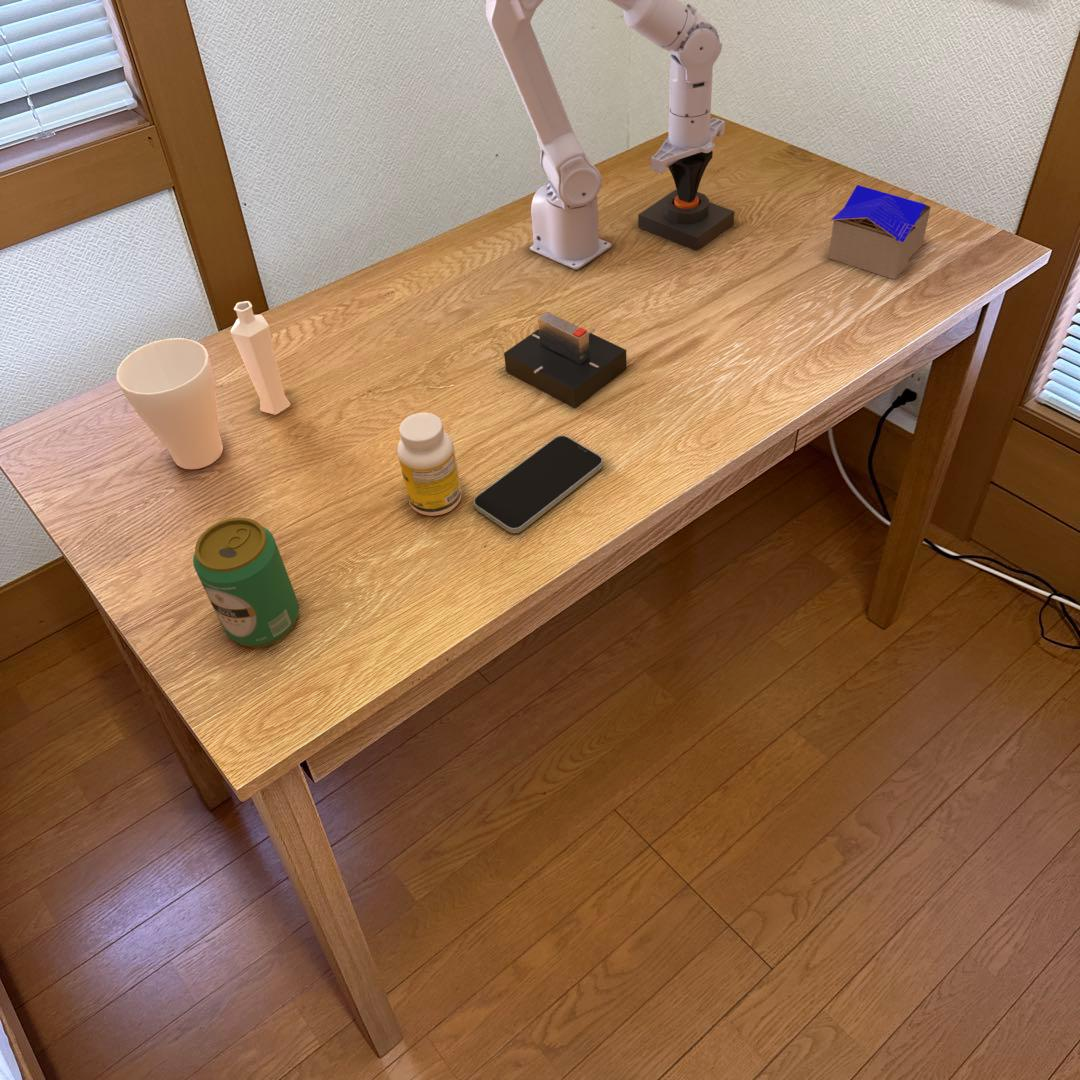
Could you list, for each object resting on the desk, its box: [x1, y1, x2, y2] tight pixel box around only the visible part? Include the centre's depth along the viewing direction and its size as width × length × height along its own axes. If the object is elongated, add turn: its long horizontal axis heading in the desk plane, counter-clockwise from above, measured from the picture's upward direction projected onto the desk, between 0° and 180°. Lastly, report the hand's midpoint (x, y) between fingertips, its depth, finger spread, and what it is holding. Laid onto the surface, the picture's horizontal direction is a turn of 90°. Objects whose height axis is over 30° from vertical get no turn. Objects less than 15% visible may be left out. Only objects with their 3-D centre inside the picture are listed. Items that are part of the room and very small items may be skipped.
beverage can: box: [192, 517, 300, 649], centre depth 105 cm, size 8×8×12 cm
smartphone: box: [473, 435, 604, 534], centre depth 120 cm, size 7×1×15 cm
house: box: [827, 184, 932, 280], centre depth 145 cm, size 10×11×8 cm
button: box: [674, 195, 699, 209], centre depth 154 cm, size 4×4×2 cm
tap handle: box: [537, 311, 590, 365], centre depth 131 cm, size 7×2×4 cm, turn 46°
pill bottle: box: [396, 412, 463, 517], centre depth 116 cm, size 6×6×11 cm
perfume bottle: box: [229, 300, 292, 416], centre depth 129 cm, size 5×4×15 cm
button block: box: [637, 189, 735, 251], centre depth 155 cm, size 11×9×4 cm
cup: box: [115, 337, 224, 470], centre depth 124 cm, size 10×10×14 cm
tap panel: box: [503, 328, 628, 409], centre depth 134 cm, size 12×11×3 cm
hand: (686, 199), depth 153 cm, fingers closed, pressing on button
